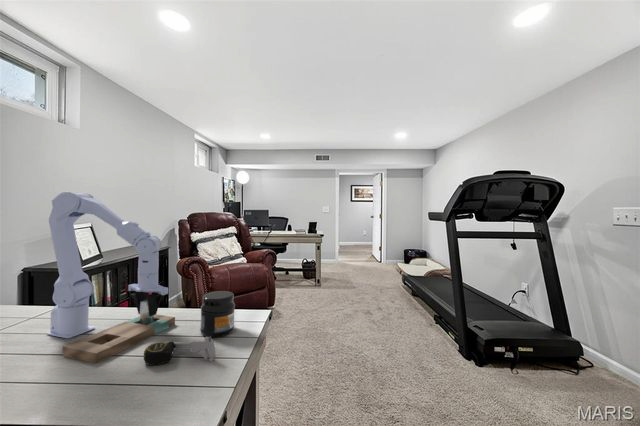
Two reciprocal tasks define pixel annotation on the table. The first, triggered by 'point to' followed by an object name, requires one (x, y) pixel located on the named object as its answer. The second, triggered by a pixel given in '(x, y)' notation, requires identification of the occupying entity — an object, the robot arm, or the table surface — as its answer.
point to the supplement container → (217, 314)
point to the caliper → (199, 347)
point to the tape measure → (159, 353)
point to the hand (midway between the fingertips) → (147, 314)
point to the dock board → (115, 339)
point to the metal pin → (145, 313)
